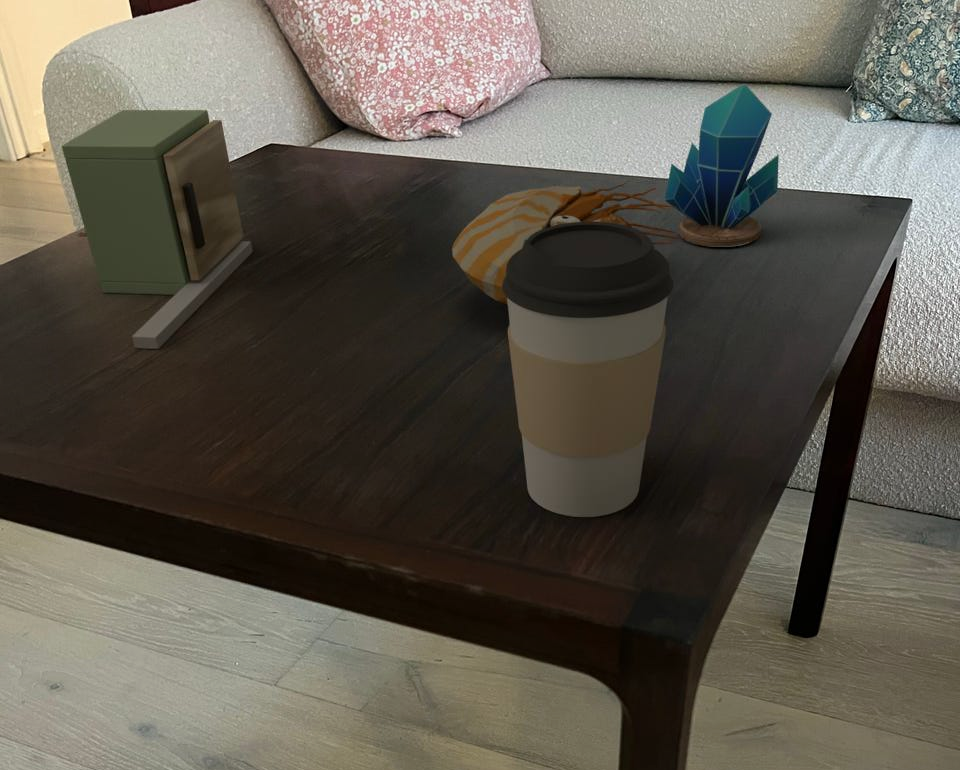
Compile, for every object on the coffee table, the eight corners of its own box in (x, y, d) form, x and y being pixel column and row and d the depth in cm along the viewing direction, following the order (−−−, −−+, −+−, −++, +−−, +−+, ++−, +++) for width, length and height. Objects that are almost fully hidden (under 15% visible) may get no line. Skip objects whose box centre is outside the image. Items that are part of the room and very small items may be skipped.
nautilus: (638, 244, 96) (733, 310, 85) (419, 277, 88) (495, 352, 78) (650, 152, 90) (753, 210, 80) (418, 179, 83) (500, 246, 73)
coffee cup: (620, 437, 68) (631, 197, 58) (684, 507, 61) (709, 250, 52) (488, 465, 66) (477, 221, 56) (539, 541, 59) (537, 279, 50)
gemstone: (691, 215, 100) (702, 75, 92) (777, 230, 95) (797, 84, 88) (654, 240, 95) (663, 94, 87) (743, 256, 91) (761, 105, 83)
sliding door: (191, 280, 89) (162, 155, 83) (235, 237, 97) (212, 119, 90) (205, 280, 89) (178, 155, 82) (248, 237, 97) (227, 119, 90)
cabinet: (41, 344, 83) (-11, 187, 76) (155, 247, 99) (122, 109, 92) (158, 349, 82) (117, 188, 74) (255, 250, 98) (229, 109, 90)
